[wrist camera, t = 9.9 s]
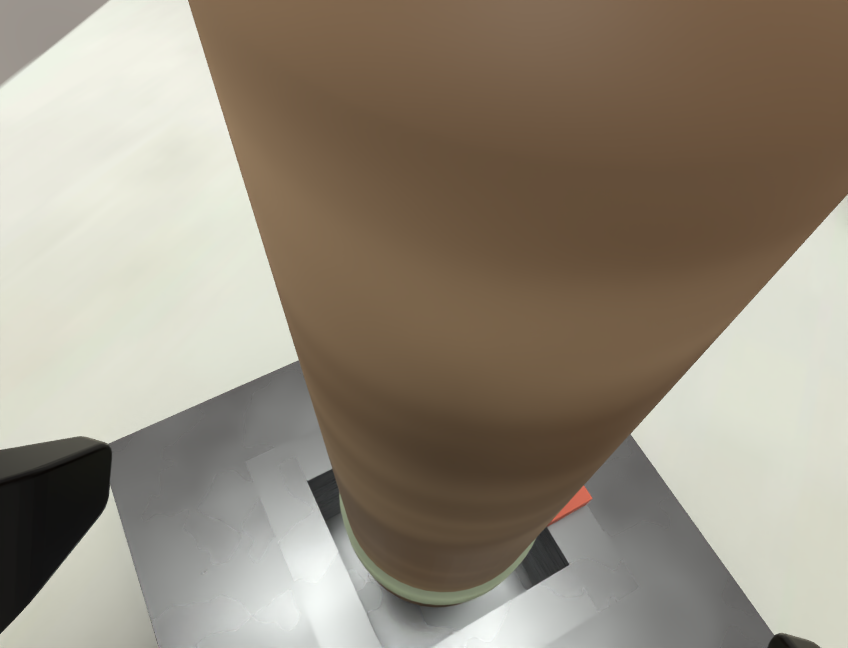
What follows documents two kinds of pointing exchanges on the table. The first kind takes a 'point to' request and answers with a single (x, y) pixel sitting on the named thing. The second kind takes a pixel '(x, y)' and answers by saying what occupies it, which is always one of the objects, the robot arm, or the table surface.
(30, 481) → the robot arm
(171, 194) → the table surface
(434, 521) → the post
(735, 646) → the stand
